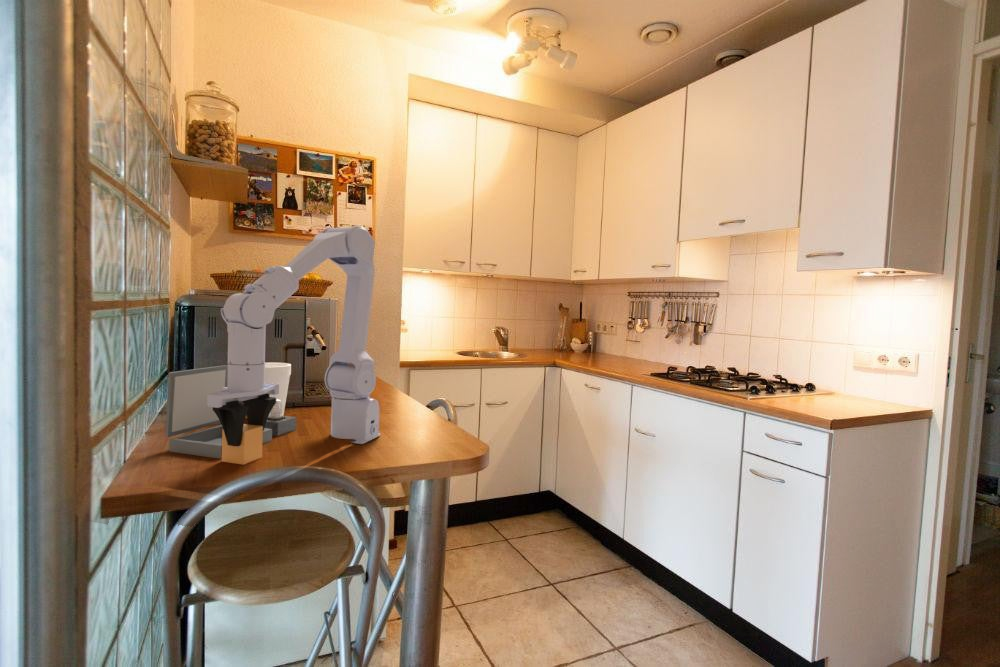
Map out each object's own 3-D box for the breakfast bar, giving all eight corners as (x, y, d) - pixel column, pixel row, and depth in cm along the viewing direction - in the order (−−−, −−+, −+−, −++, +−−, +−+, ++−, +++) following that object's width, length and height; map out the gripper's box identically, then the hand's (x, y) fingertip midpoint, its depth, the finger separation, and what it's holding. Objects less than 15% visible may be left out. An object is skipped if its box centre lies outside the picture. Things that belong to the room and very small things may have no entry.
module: (262, 459, 88) (262, 426, 88) (243, 467, 84) (244, 431, 84) (241, 457, 90) (241, 423, 89) (221, 464, 85) (222, 429, 85)
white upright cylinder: (283, 432, 107) (284, 399, 106) (274, 434, 105) (275, 401, 104) (275, 430, 108) (276, 398, 107) (266, 433, 106) (267, 400, 105)
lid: (228, 365, 101) (225, 365, 101) (172, 373, 89) (168, 372, 89) (225, 422, 102) (221, 421, 102) (168, 437, 89) (165, 436, 89)
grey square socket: (296, 433, 108) (296, 417, 108) (277, 439, 103) (278, 422, 102) (272, 430, 110) (272, 414, 110) (252, 436, 104) (252, 420, 104)
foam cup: (240, 417, 120) (241, 363, 119) (278, 412, 127) (279, 361, 126) (258, 425, 114) (259, 368, 113) (297, 419, 121) (298, 365, 120)
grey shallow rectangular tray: (271, 444, 99) (272, 429, 99) (220, 462, 87) (221, 445, 87) (225, 438, 102) (225, 423, 102) (169, 455, 89) (169, 439, 89)
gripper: (256, 358, 94) (255, 429, 95) (191, 365, 80) (190, 450, 81) (289, 360, 92) (287, 433, 93) (229, 369, 78) (227, 454, 79)
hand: (244, 441), depth 87 cm, fingers closed on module, 4 cm apart
